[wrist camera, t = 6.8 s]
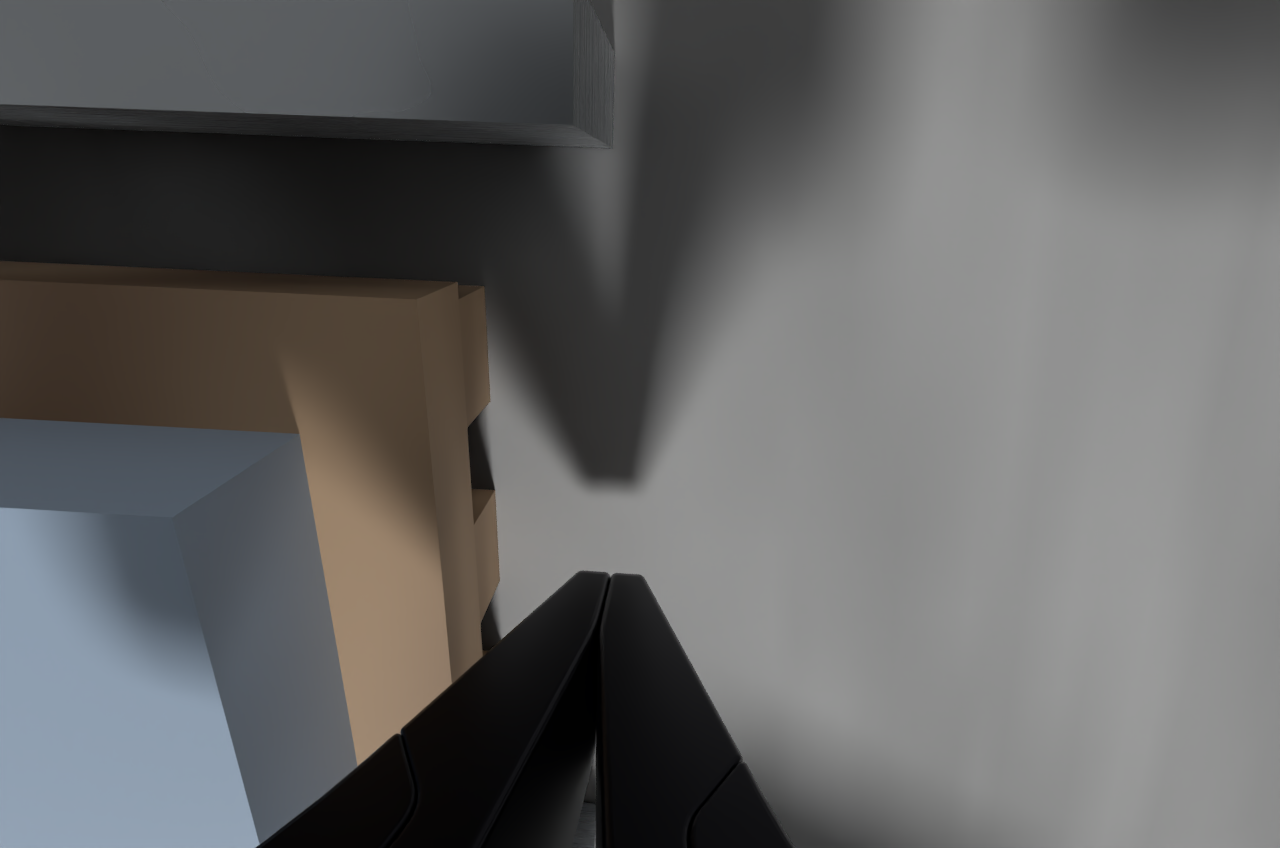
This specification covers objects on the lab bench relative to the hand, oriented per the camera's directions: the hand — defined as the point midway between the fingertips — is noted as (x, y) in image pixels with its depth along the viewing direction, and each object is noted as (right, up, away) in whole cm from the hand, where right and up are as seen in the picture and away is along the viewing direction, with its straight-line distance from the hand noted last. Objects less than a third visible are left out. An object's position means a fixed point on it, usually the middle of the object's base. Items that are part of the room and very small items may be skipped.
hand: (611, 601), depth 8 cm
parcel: (-6, 0, -1) cm, 6 cm away
